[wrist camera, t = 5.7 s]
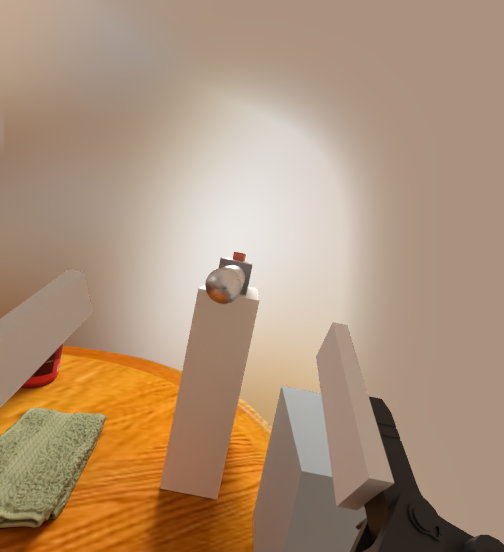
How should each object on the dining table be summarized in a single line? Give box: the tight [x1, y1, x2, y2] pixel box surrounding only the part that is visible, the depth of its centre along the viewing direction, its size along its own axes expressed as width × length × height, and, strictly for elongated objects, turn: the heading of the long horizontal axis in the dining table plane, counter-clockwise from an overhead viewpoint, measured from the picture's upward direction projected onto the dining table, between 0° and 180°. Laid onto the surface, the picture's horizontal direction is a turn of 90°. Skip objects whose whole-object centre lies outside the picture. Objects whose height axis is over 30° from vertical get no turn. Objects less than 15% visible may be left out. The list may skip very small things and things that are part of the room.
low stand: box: [253, 386, 367, 552], centre depth 26 cm, size 8×13×18 cm, turn 0°
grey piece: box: [205, 252, 252, 304], centre depth 33 cm, size 4×22×6 cm, turn 0°
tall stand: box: [160, 285, 259, 500], centre depth 40 cm, size 8×14×28 cm, turn 0°
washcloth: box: [0, 408, 106, 528], centre depth 34 cm, size 13×18×3 cm
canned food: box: [21, 344, 63, 388], centre depth 51 cm, size 8×8×11 cm
